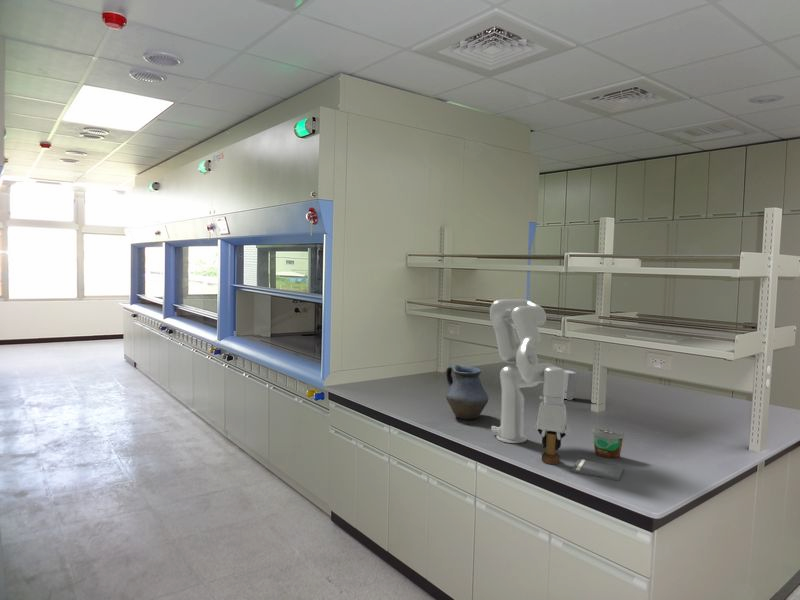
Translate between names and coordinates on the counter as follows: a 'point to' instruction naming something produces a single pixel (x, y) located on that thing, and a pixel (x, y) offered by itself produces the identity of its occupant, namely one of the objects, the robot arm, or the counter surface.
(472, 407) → the pitcher
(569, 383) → the skincare box
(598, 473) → the mat
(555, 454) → the brown wooden turned post
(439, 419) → the counter surface
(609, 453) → the food container
